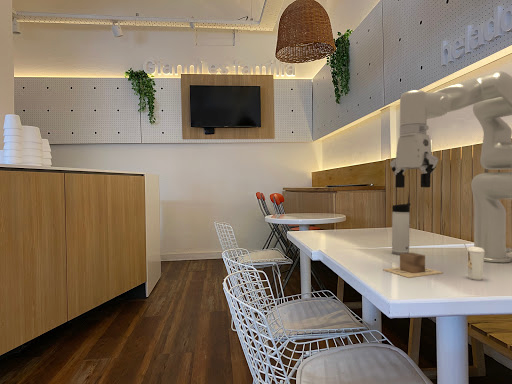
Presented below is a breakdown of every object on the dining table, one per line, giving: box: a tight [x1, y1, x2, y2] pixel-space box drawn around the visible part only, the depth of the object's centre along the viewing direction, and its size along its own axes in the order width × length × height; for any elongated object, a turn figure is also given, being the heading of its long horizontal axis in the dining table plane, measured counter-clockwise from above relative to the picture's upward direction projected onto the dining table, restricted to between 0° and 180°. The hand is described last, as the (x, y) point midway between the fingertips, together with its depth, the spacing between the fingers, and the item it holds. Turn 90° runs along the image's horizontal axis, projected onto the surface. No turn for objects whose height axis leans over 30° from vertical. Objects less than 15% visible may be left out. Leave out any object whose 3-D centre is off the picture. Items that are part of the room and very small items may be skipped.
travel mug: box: [391, 203, 411, 256], centre depth 133 cm, size 6×7×20 cm
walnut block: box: [399, 252, 426, 273], centre depth 104 cm, size 5×5×5 cm
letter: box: [382, 266, 444, 279], centre depth 104 cm, size 14×10×1 cm
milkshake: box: [463, 243, 485, 281], centre depth 96 cm, size 4×5×10 cm
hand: (412, 187), depth 104 cm, fingers open, 9 cm apart
